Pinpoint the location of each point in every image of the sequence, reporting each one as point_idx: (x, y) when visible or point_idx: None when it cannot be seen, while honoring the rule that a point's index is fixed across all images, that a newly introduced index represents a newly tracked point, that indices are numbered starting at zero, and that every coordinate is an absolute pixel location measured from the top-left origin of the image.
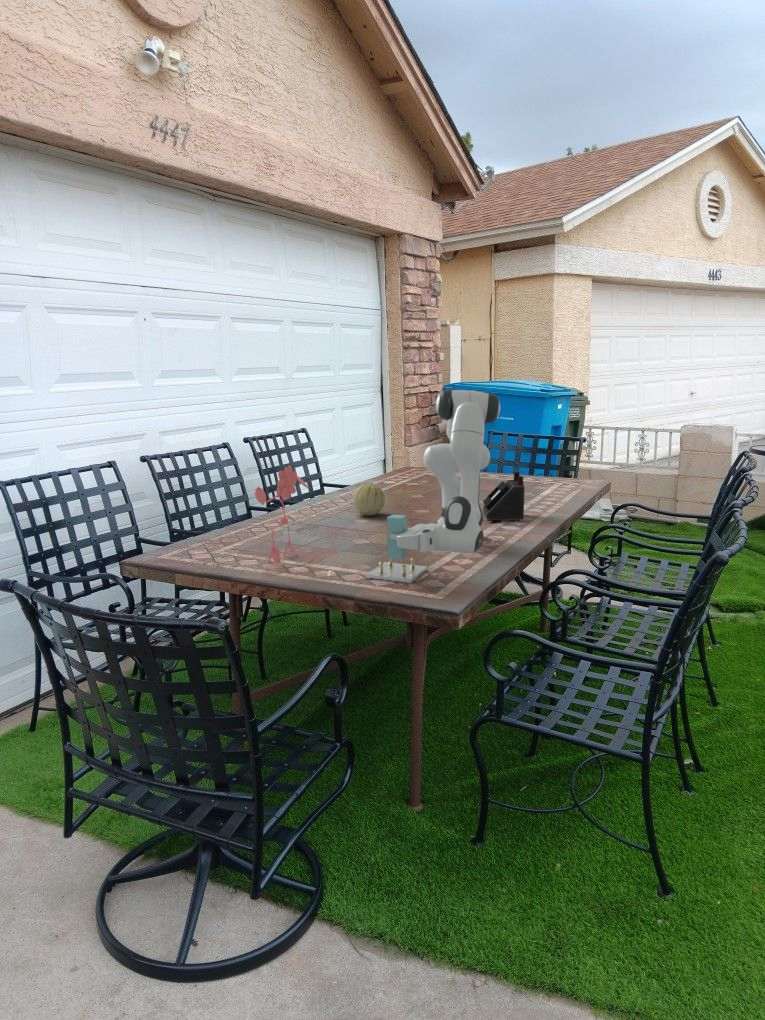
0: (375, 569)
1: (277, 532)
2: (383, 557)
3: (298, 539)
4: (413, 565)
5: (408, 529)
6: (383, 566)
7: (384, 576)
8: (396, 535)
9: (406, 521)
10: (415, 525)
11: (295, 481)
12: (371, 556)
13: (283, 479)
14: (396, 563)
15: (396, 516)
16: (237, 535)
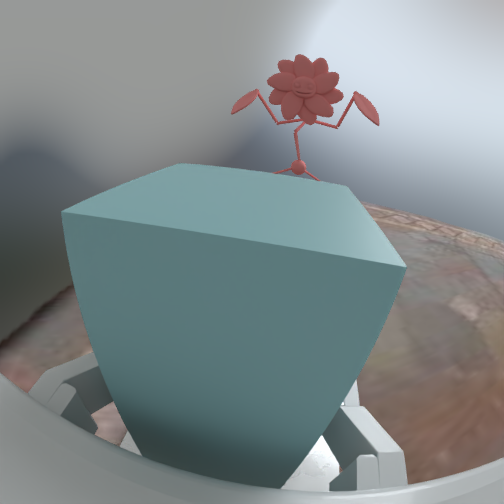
0: None
1: (407, 229)
2: (409, 385)
3: (400, 244)
4: None
5: (354, 460)
6: None
7: (128, 436)
8: (78, 365)
9: (353, 377)
10: (476, 475)
11: (336, 95)
12: (398, 356)
13: (286, 75)
14: (334, 457)
15: (241, 188)
16: (366, 209)
